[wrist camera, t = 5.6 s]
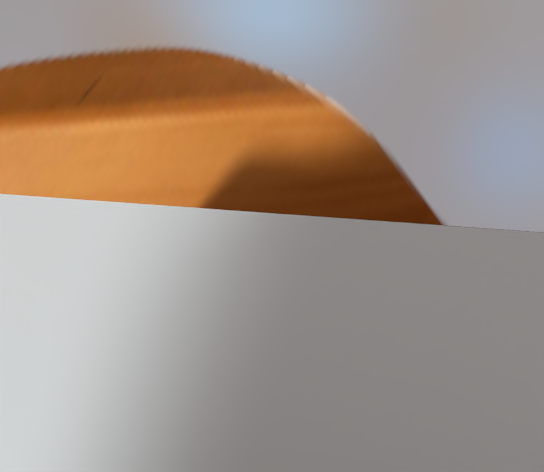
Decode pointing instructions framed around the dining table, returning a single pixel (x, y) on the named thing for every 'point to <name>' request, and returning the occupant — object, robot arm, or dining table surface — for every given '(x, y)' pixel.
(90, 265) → the white notched pillar
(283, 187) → the dining table surface
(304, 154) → the dining table surface
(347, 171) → the dining table surface
